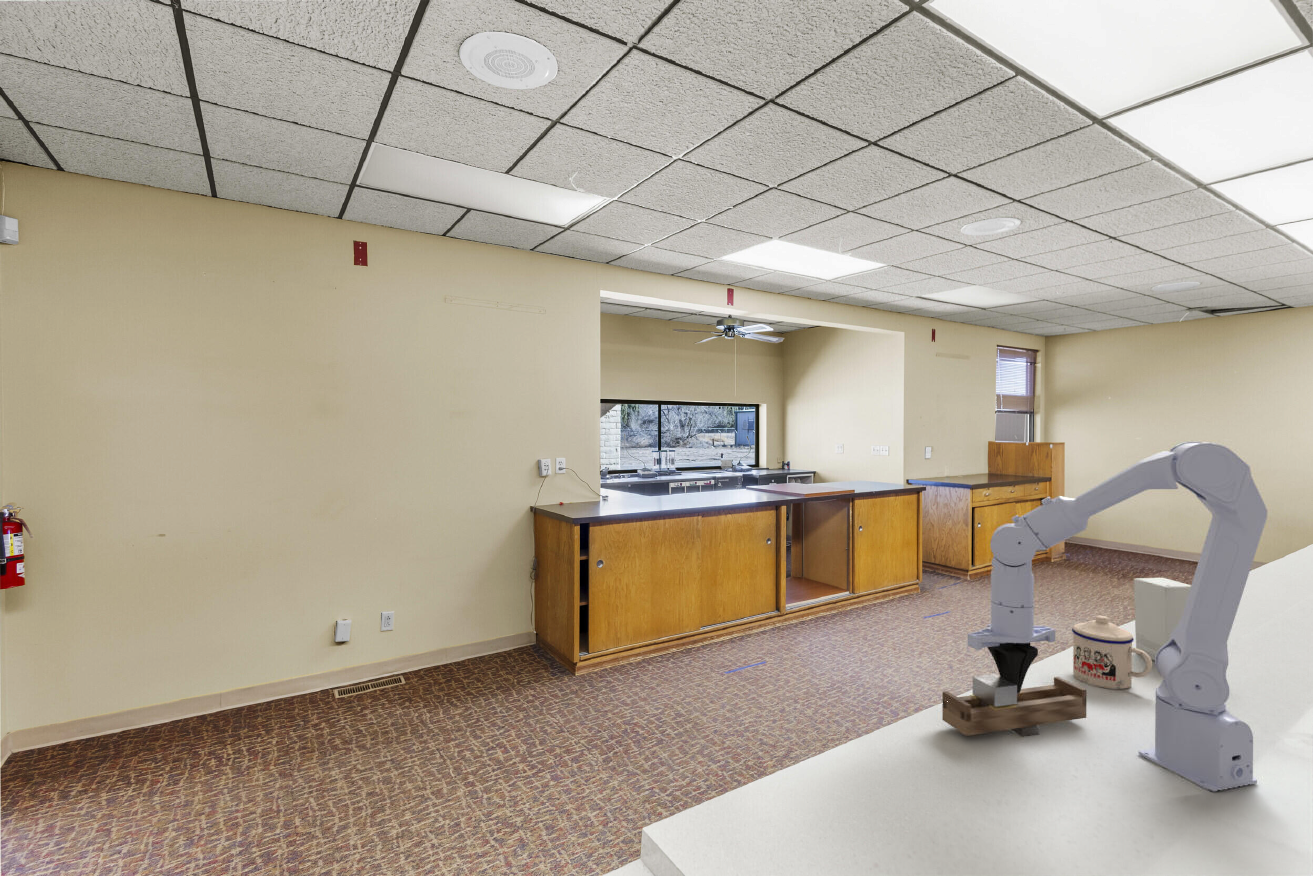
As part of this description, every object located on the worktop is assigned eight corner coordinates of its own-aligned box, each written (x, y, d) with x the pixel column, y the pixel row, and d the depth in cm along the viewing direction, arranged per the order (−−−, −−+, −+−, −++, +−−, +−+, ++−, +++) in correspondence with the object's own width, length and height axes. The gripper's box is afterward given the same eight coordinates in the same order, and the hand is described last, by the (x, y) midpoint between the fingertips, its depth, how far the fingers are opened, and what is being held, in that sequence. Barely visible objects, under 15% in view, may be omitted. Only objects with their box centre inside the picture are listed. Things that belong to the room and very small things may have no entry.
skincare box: (1200, 668, 117) (1201, 587, 117) (1165, 667, 117) (1165, 587, 117) (1164, 652, 125) (1165, 576, 125) (1131, 652, 125) (1132, 576, 125)
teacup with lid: (1062, 677, 113) (1062, 614, 113) (1085, 666, 118) (1085, 606, 118) (1140, 701, 103) (1141, 632, 103) (1162, 689, 108) (1162, 623, 107)
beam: (1055, 709, 100) (1055, 675, 100) (1089, 727, 94) (1089, 690, 94) (940, 726, 94) (940, 690, 94) (968, 745, 89) (969, 707, 88)
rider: (993, 700, 96) (994, 673, 96) (1016, 713, 92) (1017, 685, 91) (972, 703, 95) (972, 676, 95) (994, 716, 91) (994, 688, 91)
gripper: (1029, 592, 99) (1028, 675, 100) (953, 599, 96) (952, 685, 96) (1067, 605, 93) (1067, 693, 93) (987, 612, 89) (987, 704, 89)
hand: (1011, 690), depth 94 cm, fingers closed
